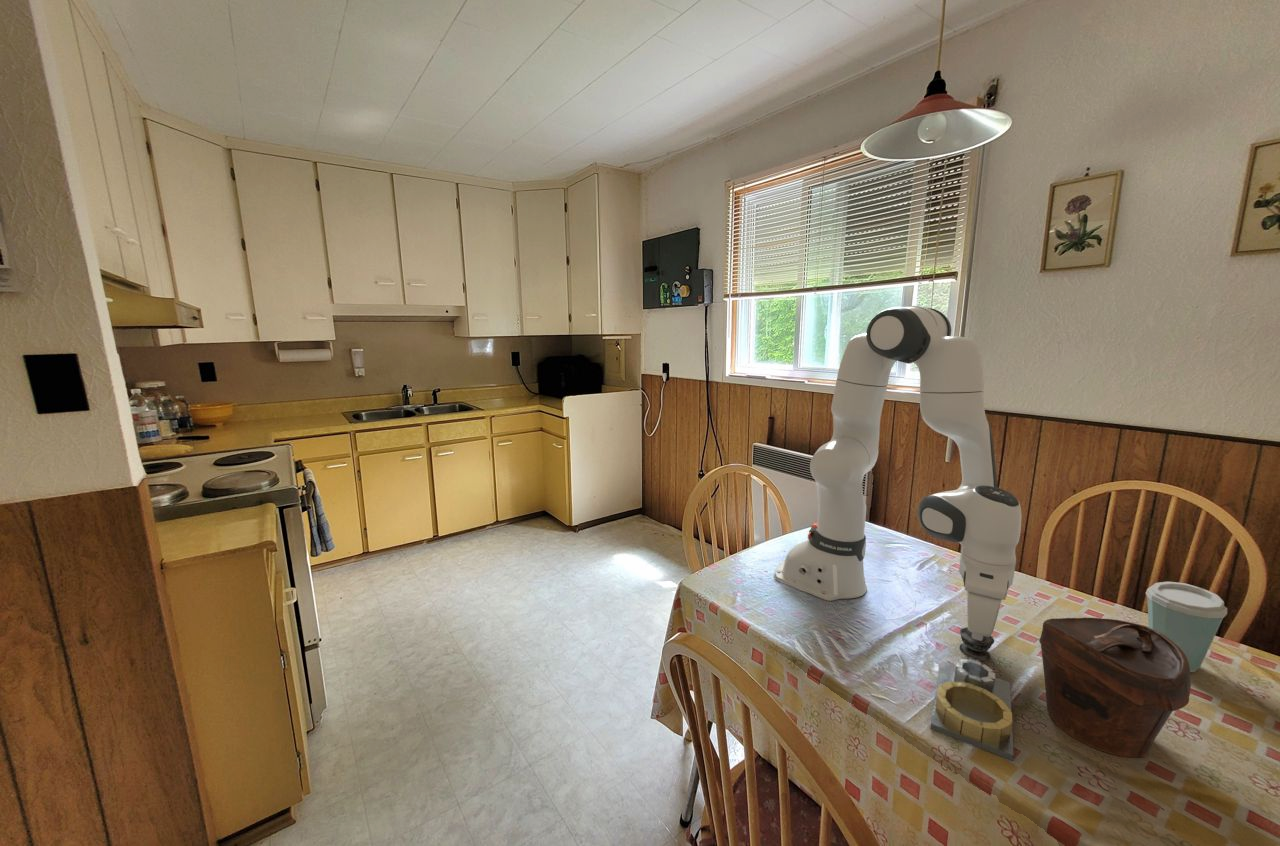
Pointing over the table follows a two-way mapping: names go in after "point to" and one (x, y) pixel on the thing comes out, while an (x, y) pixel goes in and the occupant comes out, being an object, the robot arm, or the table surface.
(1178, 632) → the disposable coffee cup
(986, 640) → the stone chess piece
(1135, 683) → the case
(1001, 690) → the socket plate
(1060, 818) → the table surface
